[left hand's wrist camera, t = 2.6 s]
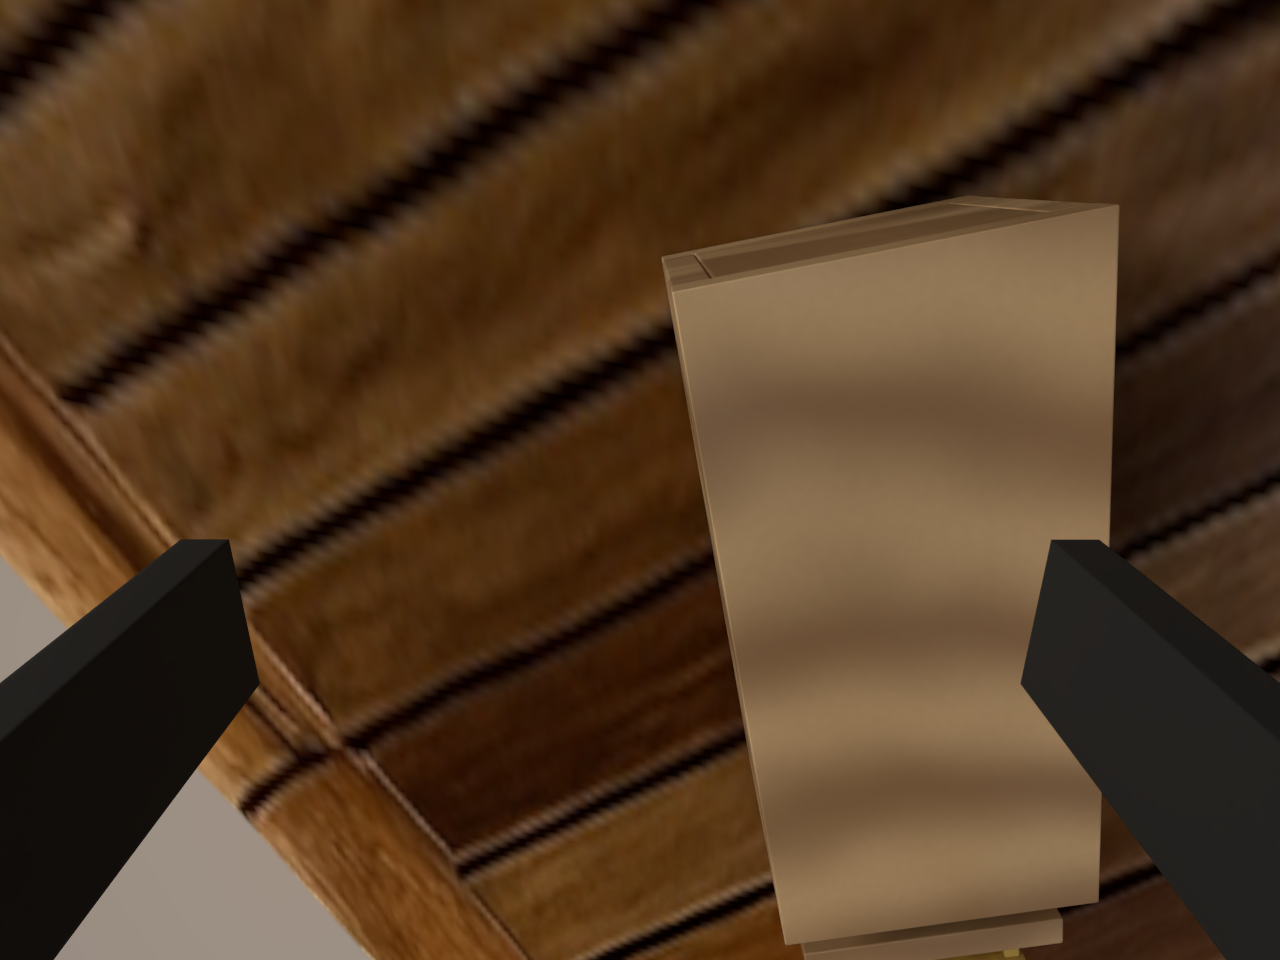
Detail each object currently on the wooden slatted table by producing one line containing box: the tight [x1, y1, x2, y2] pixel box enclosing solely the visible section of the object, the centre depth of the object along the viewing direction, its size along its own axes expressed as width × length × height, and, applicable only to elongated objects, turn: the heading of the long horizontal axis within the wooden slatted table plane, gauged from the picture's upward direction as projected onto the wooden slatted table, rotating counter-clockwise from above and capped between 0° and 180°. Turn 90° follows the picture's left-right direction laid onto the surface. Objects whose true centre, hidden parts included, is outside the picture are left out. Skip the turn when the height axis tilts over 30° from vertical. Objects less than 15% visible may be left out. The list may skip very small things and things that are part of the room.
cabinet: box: [662, 196, 1119, 945], centre depth 26 cm, size 22×10×9 cm, turn 11°
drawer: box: [801, 908, 1063, 960], centre depth 28 cm, size 26×9×6 cm, turn 11°
